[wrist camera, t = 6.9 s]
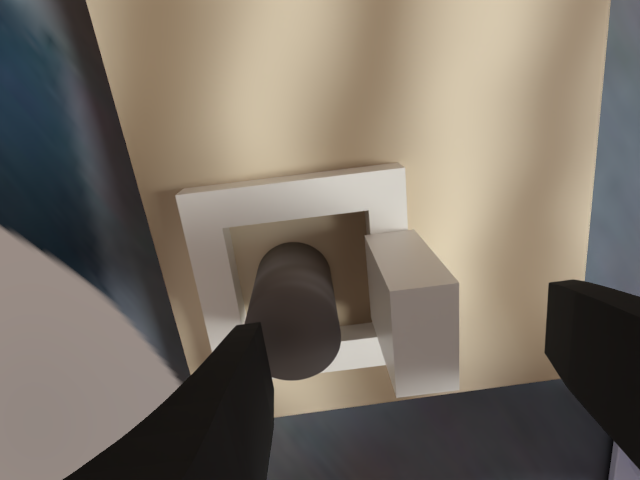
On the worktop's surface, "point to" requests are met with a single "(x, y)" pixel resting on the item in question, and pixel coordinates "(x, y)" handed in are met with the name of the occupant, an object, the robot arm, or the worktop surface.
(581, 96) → the board
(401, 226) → the collar
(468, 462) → the worktop surface
